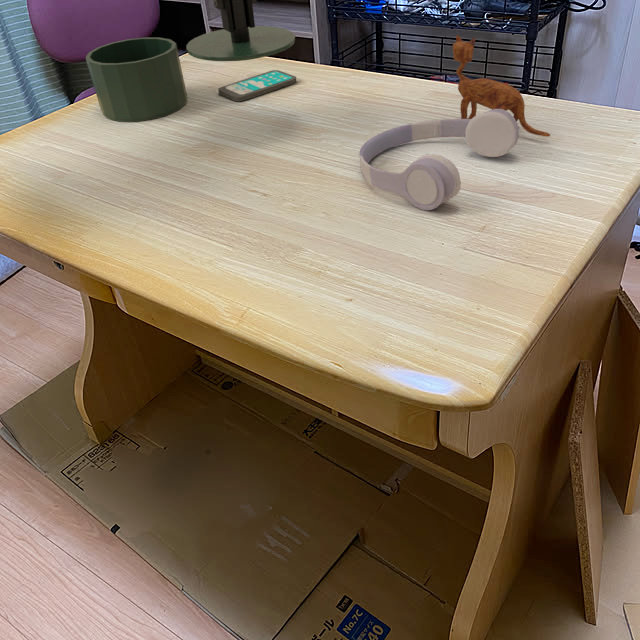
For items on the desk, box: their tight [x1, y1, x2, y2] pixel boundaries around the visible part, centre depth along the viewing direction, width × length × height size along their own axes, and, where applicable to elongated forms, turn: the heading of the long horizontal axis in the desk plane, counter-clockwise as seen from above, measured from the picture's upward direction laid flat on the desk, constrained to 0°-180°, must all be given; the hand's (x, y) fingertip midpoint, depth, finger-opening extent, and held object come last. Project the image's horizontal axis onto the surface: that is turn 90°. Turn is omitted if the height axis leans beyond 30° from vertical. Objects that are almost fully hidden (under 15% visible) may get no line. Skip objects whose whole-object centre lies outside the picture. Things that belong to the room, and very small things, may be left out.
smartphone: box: [217, 69, 298, 102], centre depth 126 cm, size 9×1×15 cm
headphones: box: [358, 109, 520, 211], centre depth 92 cm, size 22×7×20 cm
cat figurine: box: [452, 34, 551, 138], centre depth 98 cm, size 18×7×14 cm, turn 50°
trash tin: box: [85, 37, 188, 123], centre depth 120 cm, size 17×17×10 cm
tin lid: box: [186, 0, 296, 62], centre depth 100 cm, size 18×18×9 cm
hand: (239, 27), depth 101 cm, fingers closed on tin lid, 3 cm apart
